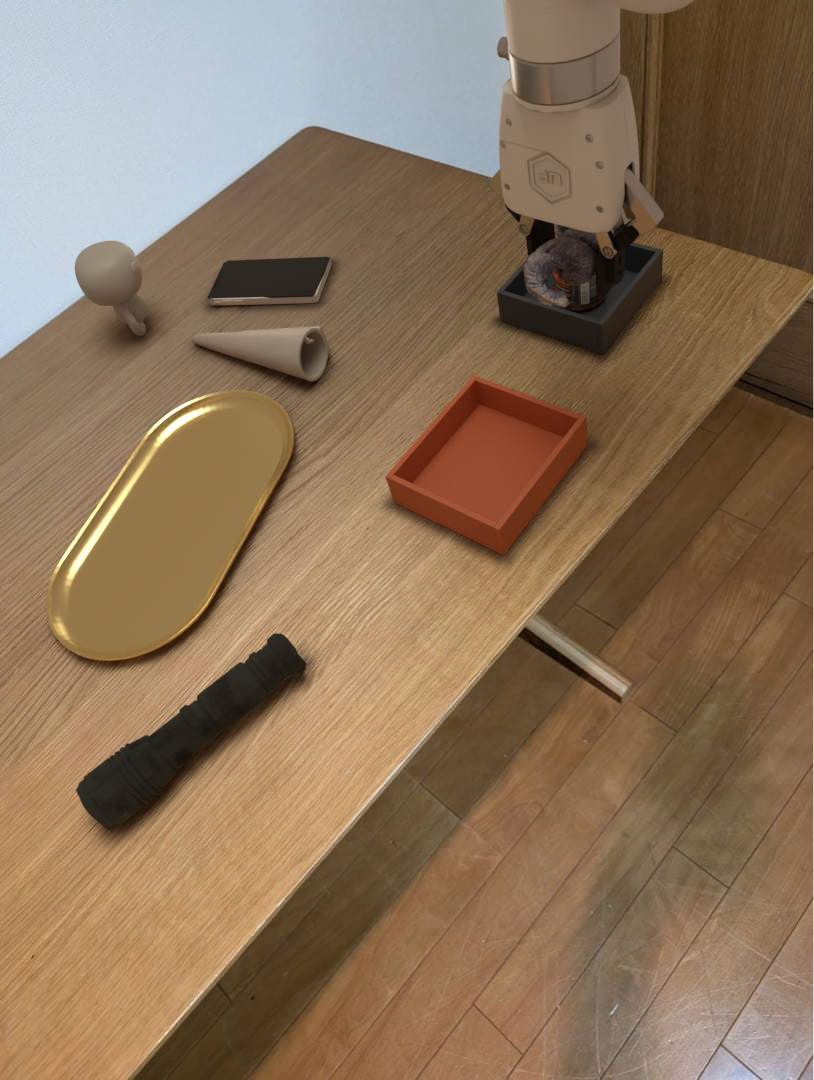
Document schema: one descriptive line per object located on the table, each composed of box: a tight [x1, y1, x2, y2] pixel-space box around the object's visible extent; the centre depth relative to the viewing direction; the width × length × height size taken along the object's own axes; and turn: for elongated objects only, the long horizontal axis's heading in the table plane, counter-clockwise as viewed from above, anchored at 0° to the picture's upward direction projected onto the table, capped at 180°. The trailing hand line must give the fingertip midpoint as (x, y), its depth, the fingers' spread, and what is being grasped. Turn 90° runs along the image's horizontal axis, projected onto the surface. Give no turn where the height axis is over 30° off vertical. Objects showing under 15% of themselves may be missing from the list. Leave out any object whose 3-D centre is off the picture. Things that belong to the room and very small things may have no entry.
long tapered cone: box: [191, 325, 331, 382], centre depth 100 cm, size 6×6×19 cm
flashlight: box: [75, 632, 308, 831], centre depth 72 cm, size 5×21×5 cm, turn 129°
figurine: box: [74, 240, 148, 337], centre depth 106 cm, size 8×8×12 cm
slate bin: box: [496, 241, 664, 355], centre depth 95 cm, size 13×13×4 cm
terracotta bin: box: [385, 374, 589, 556], centre depth 83 cm, size 13×15×4 cm
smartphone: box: [207, 256, 332, 306], centre depth 110 cm, size 8×1×15 cm
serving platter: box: [45, 389, 295, 662], centre depth 89 cm, size 19×35×2 cm, turn 159°
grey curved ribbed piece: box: [523, 228, 614, 308], centre depth 72 cm, size 5×5×10 cm
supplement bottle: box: [552, 224, 606, 311], centre depth 92 cm, size 6×6×11 cm
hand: (575, 275), depth 73 cm, fingers closed on grey curved ribbed piece, 5 cm apart
